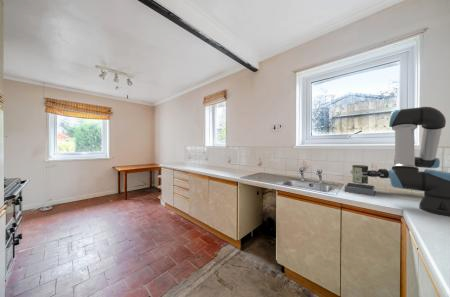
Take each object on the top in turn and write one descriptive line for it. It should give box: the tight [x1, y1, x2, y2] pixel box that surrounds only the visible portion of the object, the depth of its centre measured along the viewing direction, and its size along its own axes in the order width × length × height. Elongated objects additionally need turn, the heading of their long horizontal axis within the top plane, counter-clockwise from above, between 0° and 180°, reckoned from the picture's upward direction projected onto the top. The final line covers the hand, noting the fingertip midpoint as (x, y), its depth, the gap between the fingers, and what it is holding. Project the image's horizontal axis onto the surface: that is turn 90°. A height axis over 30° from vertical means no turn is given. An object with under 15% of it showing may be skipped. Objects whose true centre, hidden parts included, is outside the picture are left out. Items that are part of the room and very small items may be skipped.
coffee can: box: [351, 164, 369, 185], centre depth 137 cm, size 10×10×14 cm
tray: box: [344, 182, 376, 196], centre depth 137 cm, size 18×18×4 cm
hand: (354, 172), depth 138 cm, fingers closed on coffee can, 10 cm apart
